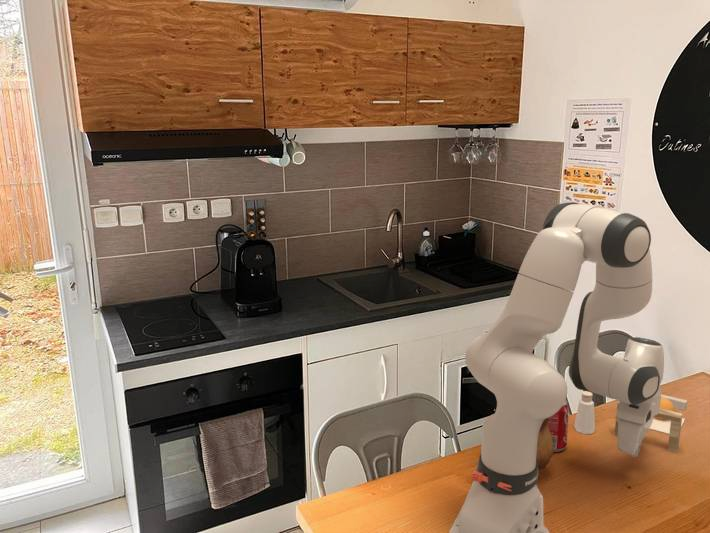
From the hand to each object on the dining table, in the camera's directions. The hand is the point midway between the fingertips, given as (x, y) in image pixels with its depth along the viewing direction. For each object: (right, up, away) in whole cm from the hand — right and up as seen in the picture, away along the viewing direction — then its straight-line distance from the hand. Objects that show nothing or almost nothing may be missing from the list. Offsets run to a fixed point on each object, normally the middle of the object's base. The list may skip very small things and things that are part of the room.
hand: (634, 453), depth 145 cm
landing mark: (+17, +2, +21) cm, 27 cm away
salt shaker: (-6, +1, +17) cm, 18 cm away
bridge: (+8, 0, +11) cm, 13 cm away
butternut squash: (-28, -4, -1) cm, 28 cm away
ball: (+19, +6, +23) cm, 30 cm away
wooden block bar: (+25, +5, +31) cm, 40 cm away
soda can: (-17, -1, +9) cm, 20 cm away
